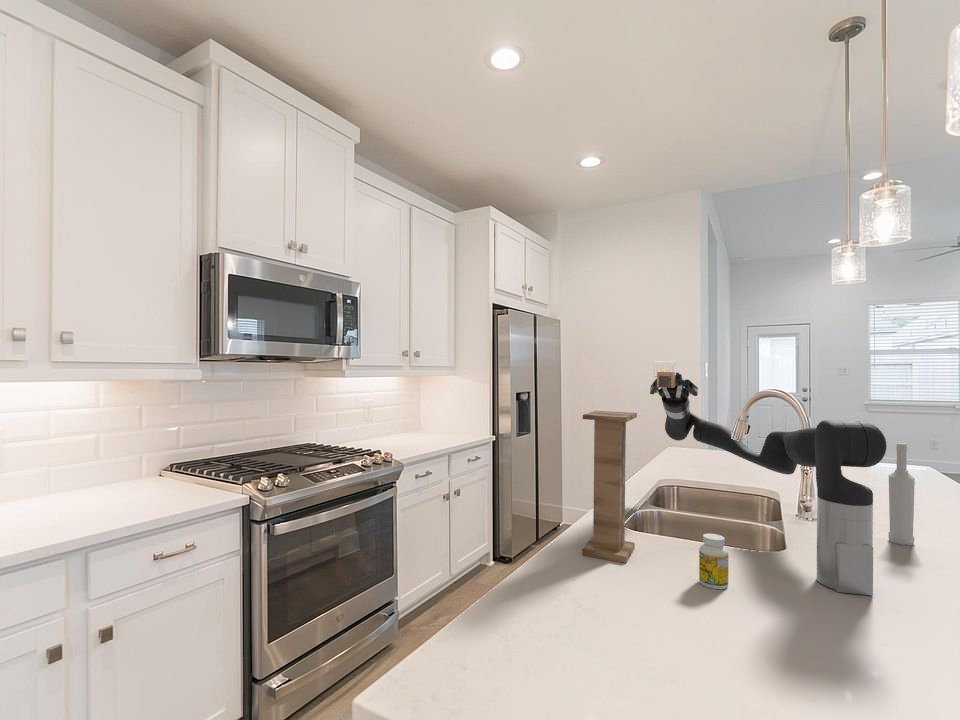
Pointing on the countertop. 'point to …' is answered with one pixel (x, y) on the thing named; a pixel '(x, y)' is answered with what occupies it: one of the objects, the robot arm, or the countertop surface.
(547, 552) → the countertop surface
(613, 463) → the stand
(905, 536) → the bottle
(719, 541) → the supplement bottle
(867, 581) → the robot arm
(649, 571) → the countertop surface
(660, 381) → the orange and blue box
